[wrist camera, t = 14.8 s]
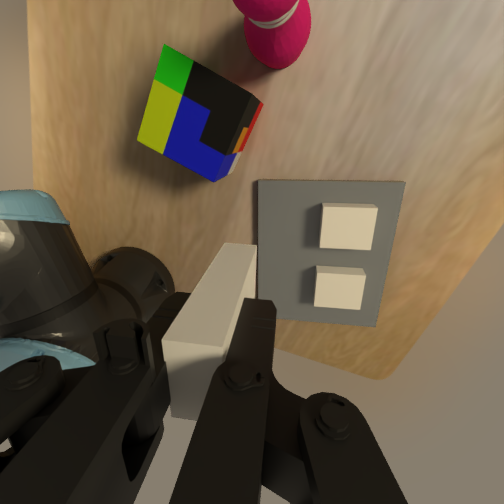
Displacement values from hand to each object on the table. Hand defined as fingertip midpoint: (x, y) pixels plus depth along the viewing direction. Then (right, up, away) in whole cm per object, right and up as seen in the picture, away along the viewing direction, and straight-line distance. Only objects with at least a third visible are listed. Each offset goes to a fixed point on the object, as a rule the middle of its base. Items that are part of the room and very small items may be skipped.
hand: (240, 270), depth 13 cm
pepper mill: (+4, +27, +21) cm, 35 cm away
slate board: (+12, 0, +31) cm, 33 cm away
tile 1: (+11, +5, +26) cm, 29 cm away
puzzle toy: (-4, +19, +26) cm, 33 cm away
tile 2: (+11, -4, +30) cm, 32 cm away
